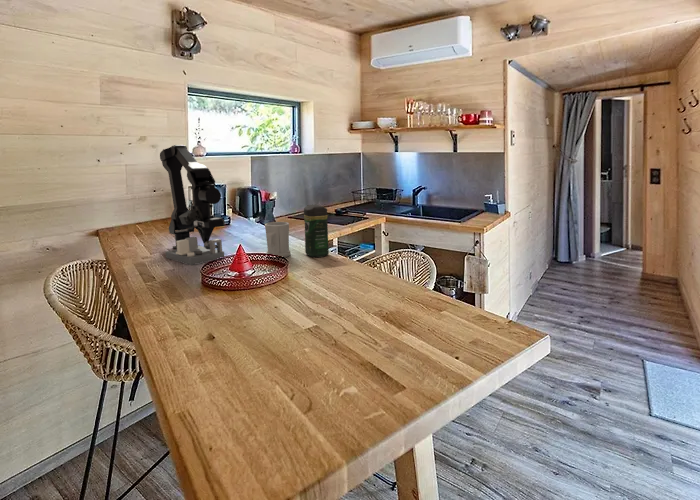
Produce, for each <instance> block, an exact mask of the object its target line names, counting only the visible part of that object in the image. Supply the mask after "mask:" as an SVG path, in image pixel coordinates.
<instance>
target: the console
mask: <svg viewBox="0 0 700 500" xmlns="http://www.w3.org/2000/svg"><path fill="white" fill-rule="evenodd" d="M209 243H210V249H206V248H205V247H204V245H203V246H202V245H198V248H199V249H200V250H199V251H194V252H188V253H187V254H185V255H179V254H176V252H177V249H176V248H175V249H172V250H166V251H165V258H166V259H169V260H172V261H175V262H179V263H181V264H186V265H189V266H193V265H198V264H203V263H207V262H212V261H216V260H215V259H217V258H220V257H225V251H224V250H223V245H222V243H223V242H222V239H221V238H215V239H209ZM215 245H217V246H218V247H217V248H215ZM217 260H218V259H217Z"/></svg>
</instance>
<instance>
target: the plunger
mask: <svg viewBox="0 0 700 500" xmlns="http://www.w3.org/2000/svg"><path fill="white" fill-rule="evenodd" d="M203 247H205V248H206V249H210V243H209V241H205V243H203ZM217 247H218V246H217V244H215V249H217Z"/></svg>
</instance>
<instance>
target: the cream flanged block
mask: <svg viewBox="0 0 700 500" xmlns="http://www.w3.org/2000/svg"><path fill="white" fill-rule="evenodd" d="M176 243H177V252H176V254H179V255H185V254H187V253H188V252H191V251H190V250H189V240H187V239H184V240H179V241H176V242H175V244H176Z"/></svg>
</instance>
